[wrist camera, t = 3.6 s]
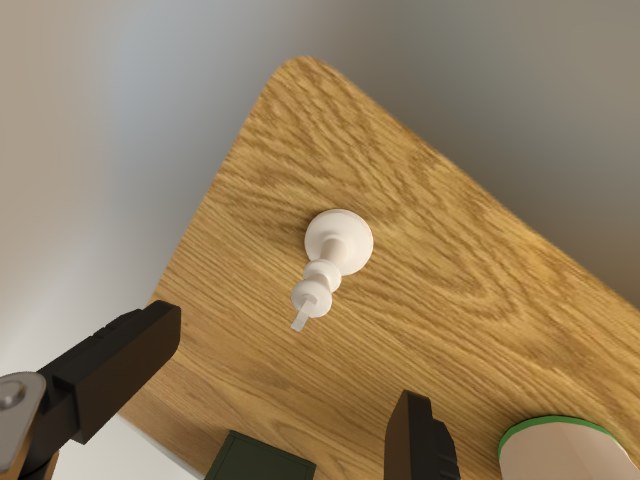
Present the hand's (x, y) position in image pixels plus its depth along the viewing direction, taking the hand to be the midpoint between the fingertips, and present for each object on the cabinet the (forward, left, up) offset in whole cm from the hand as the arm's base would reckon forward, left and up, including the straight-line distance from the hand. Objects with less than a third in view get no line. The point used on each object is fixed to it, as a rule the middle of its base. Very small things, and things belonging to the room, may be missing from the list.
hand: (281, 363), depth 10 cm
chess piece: (0, 0, -13) cm, 13 cm away
